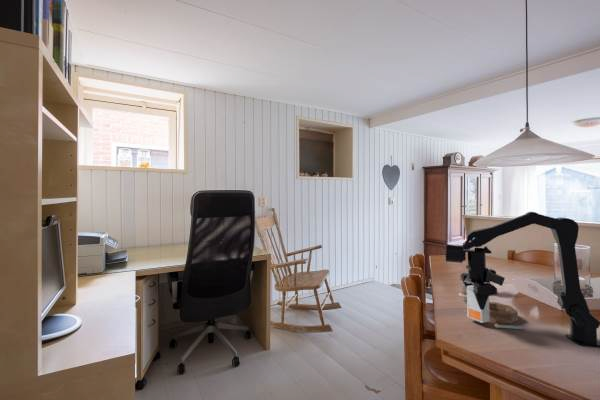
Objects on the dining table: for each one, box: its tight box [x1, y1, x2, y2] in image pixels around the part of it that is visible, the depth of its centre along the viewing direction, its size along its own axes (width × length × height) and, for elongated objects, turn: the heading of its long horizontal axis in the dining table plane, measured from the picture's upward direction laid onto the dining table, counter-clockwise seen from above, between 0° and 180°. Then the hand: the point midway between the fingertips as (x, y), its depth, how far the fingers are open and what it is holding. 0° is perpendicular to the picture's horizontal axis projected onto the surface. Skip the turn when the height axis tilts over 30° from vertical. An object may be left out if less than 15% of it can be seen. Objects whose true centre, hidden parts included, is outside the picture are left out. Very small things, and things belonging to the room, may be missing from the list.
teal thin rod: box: [494, 323, 525, 330], centre depth 100 cm, size 9×1×1 cm, turn 77°
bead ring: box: [489, 301, 519, 324], centre depth 111 cm, size 12×12×4 cm
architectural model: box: [458, 284, 467, 302], centre depth 127 cm, size 3×7×7 cm, turn 67°
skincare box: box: [466, 285, 491, 324], centre depth 105 cm, size 6×4×12 cm
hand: (478, 305), depth 105 cm, fingers closed on skincare box, 7 cm apart
